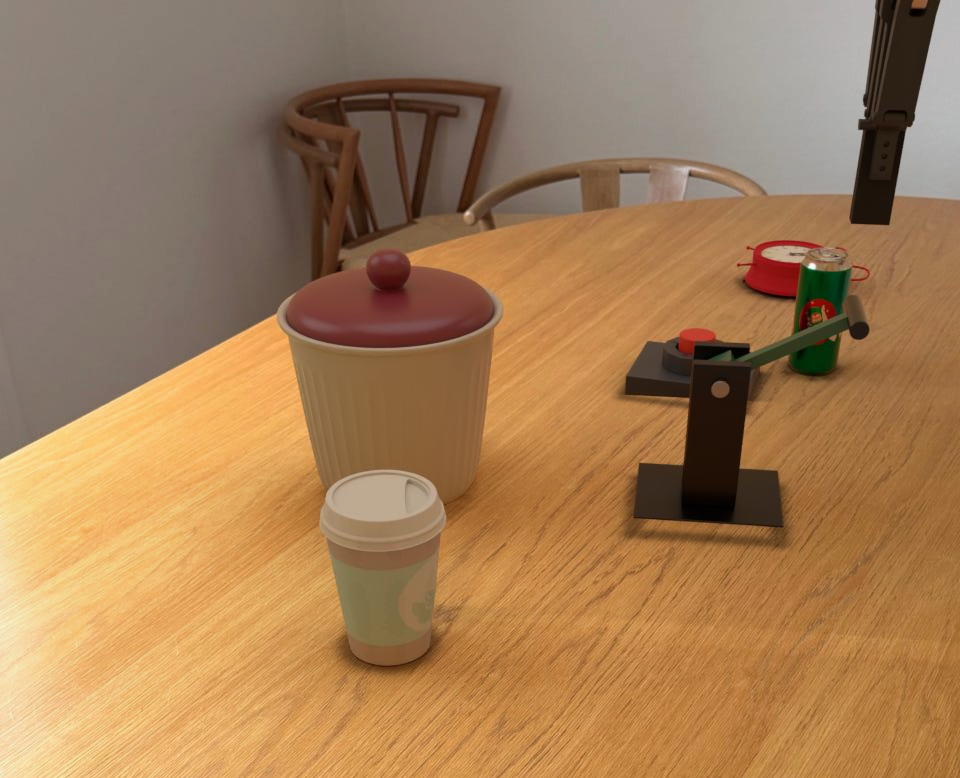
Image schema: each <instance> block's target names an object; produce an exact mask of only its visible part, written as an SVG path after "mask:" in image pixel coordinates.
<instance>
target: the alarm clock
mask: <svg viewBox="0 0 960 778" xmlns="http://www.w3.org/2000/svg"><path fill="white" fill-rule="evenodd" d="M814 248H826V247H825V246H823V245H820V244H818V243H813V242H809V241H804V240H794V239H793V240H791V239H790V240H789V239H780V240H779V239H777V240H769V241H765V242H762V243H759V244H757V245H756V246H755V247H751V246H750V245H747V246H746V250H748V251H749V250H751V251H753V252H752V261H751V262H747V263H740V262H738V263H737V264H736V266H737V267H738V268H740V267H749V266H750V267H749V269H748V270H747V272H746V274H745V276H743V277H742V278H741V279H742V282H743V281H744V280H745V283H746V285H748V287H750V288H752V289H754V290H756V291H759V292H763V293H766V294H770V295H776V296H783V297H785V296H786V297H796V295H797V288H798V280H799V273H800V265H801V262H802V260H803V259H804V258H805V257H806V252H807V251H808V250H810V249H814ZM834 248H835V249H840V250H843V251H846V252H848V250H847V249H846V248H844V247H841V246H836V247H834ZM851 264H852V266H853V268H852V269H859V270H863V271H865V272H866V273H867V275H866V276H865V277H862V278H851V280H850V282H861V281H865V280H868V279H869V278H870V275H871V272H870V270H869V269H868V268H867V267H864V266H860V265H854V264H853V263H852V262H851Z"/></svg>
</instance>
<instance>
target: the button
mask: <svg viewBox="0 0 960 778" xmlns="http://www.w3.org/2000/svg"><path fill="white" fill-rule="evenodd" d="M678 337H679V347H678V350H679V351H680V352H682V353H685V354H690V355H693V351H694V341H710V342H715V340H716V339H717V335H716V333H715V331H712V330H710V329H706V328H700V327H693V328H692V327H691V328H685V329H683V330H680V332H679V335H678Z"/></svg>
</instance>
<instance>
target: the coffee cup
mask: <svg viewBox="0 0 960 778" xmlns="http://www.w3.org/2000/svg"><path fill="white" fill-rule="evenodd" d="M444 505H445V504H444ZM444 505H443V503H442V501H441V500H440V498H439V496H438V493H437V490H436V488H435V486H434V485H433V484H432V483H431V482H430V481H429V480H427V479H426V478H424V477H422V476H420V475H417V474H414V473H410V472H406V471H399V470H373V471H366V472H361V473H357V474H353V475H350V476H348V477H345V478H343V479H341V480H339V481H338V482H336V483H335V484H334V485H332V486H331V487H330V489H329V490H328V491H327V490H326V494H325V498H324V503H323V505H322V506H321V508H320V515H319V517H320V518H319V521H318V524H319V529H320V531H321V533H322V534H323V536H324V537H325V538H326V544H327V548H328V549H327V550H328V553H329V558H330V563H331V567H332V571H333V576H334V581H335V585H336V590H337V594H338V599H339V604H340V609H341V614H342V617H343V622H344V626H345V631H346V635H347V639H348V644H349V648H350V651H351V652H352V654H353V655H354V656H355V657H357V658H358V659H359V660H361V661H362V662H365V663H368V664H372V665H376V666H384V667H385V666H389V667H391V666H398V665H403V664H404V665H405V664H407V663H410V662H413V661H415V660H417V659H419V658H420V657H422V656H423V655H424V654H425V653H426V652H427V651H428V650H429V648H430V646H431V639H432V631H433V622H434V621H433V620H434V610H435V600H436V588H437V579H438V570H439V569H438V568H439V556H440V547H441V537H442V536H441V535H442V530H443V529H444V528H445V526H446V523H447V513H446V511H445V506H444Z"/></svg>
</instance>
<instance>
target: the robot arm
mask: <svg viewBox="0 0 960 778" xmlns="http://www.w3.org/2000/svg"><path fill="white" fill-rule="evenodd" d="M941 1H942V0H875V4H874V10H875V12H874V21H873V28H872V35H871V36H872V37H871V45H870V51H869V59H868V68H867V75H866V83H865V91H864V93H863V96H862V105H863V107H864V108H865V109H864V110H863V111H864V112H863V117H864V118H858V123H857V130H858V131H862V133H861V141H860V147H859V152H858V153H859V154H858V161H857V167H856V172H855V178H854V185H853V191H852V196H851V197H852V198H851V204H850V209H849V218H848V219H849V222H850V224H851V225H867V226H868V225H869V226H870V225H871V226H890V224H891V218H892V213H893V206H894V202H895V195H896V190H897V184H898V180H899V179H898V178H899V173H900V167H901V161H902V156H903V155H902V154H903V150H904V144H905V139H906V132H907V130H908V128H912V126H913V125H914V122H915V120H916V109H917V104H918V101H919V95H920V91H921V87H922V82H923V77H924V73H925V68H926V63H927V58H928V54H929V50H930V45H931V41H932V36H933V31H934V28H935V23H936V19H937V15H938V11H939V8H940V4H941Z"/></svg>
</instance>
